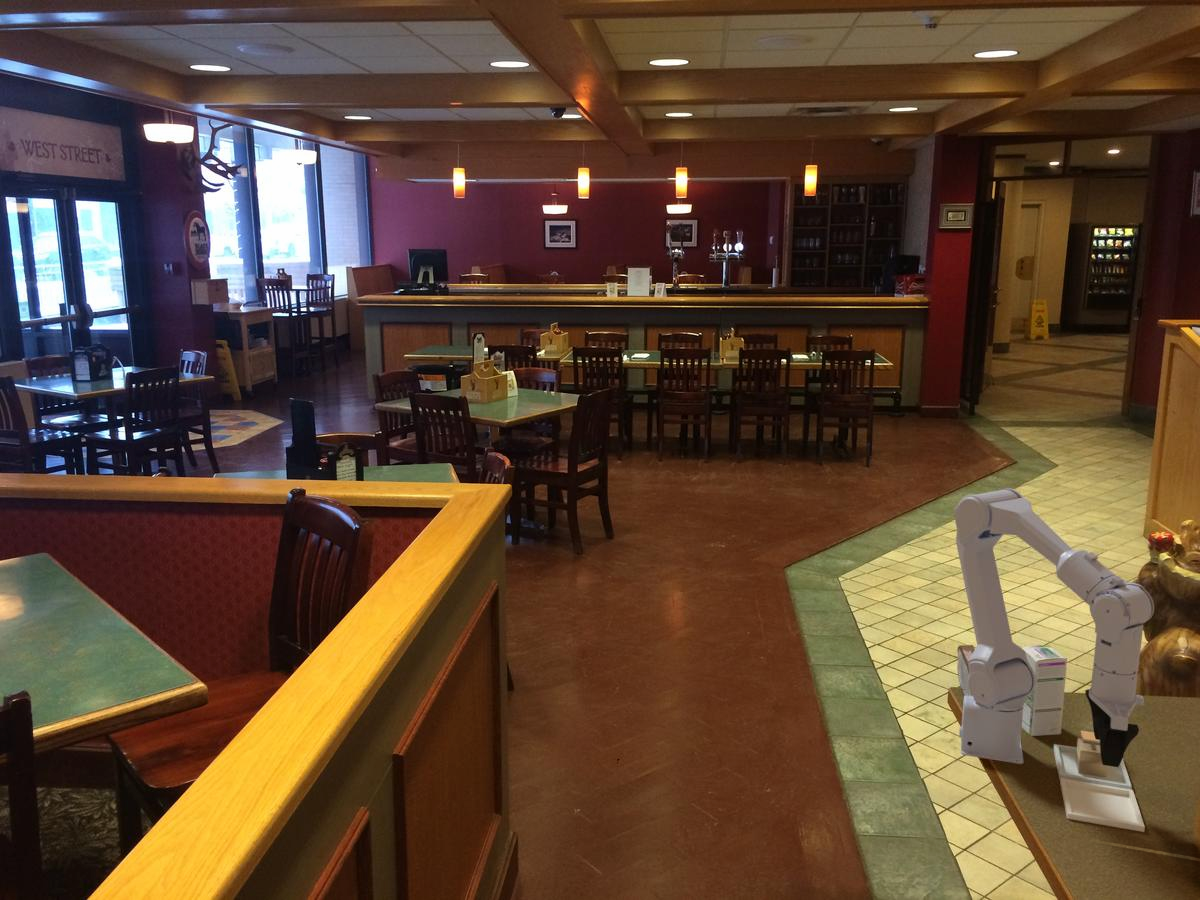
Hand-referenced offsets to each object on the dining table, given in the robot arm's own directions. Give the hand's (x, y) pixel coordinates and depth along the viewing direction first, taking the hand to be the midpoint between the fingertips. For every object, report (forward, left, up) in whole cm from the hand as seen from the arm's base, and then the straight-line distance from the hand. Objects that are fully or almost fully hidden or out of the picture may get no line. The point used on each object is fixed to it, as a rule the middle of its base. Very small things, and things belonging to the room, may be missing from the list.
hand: (1106, 751), depth 139 cm
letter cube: (0, +11, -9) cm, 14 cm away
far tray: (0, +11, -9) cm, 14 cm away
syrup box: (-7, +23, -10) cm, 26 cm away
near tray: (0, 0, -9) cm, 9 cm away
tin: (-18, +33, -10) cm, 39 cm away
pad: (+3, +21, -9) cm, 23 cm away
